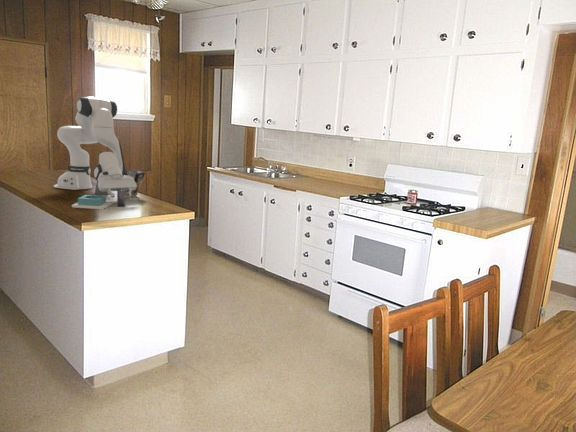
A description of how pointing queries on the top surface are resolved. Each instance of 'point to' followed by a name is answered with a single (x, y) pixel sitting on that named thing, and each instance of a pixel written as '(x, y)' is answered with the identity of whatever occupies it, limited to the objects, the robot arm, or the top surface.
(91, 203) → the keeper board
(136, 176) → the coffee box
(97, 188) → the coffeepot
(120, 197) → the steel pin
